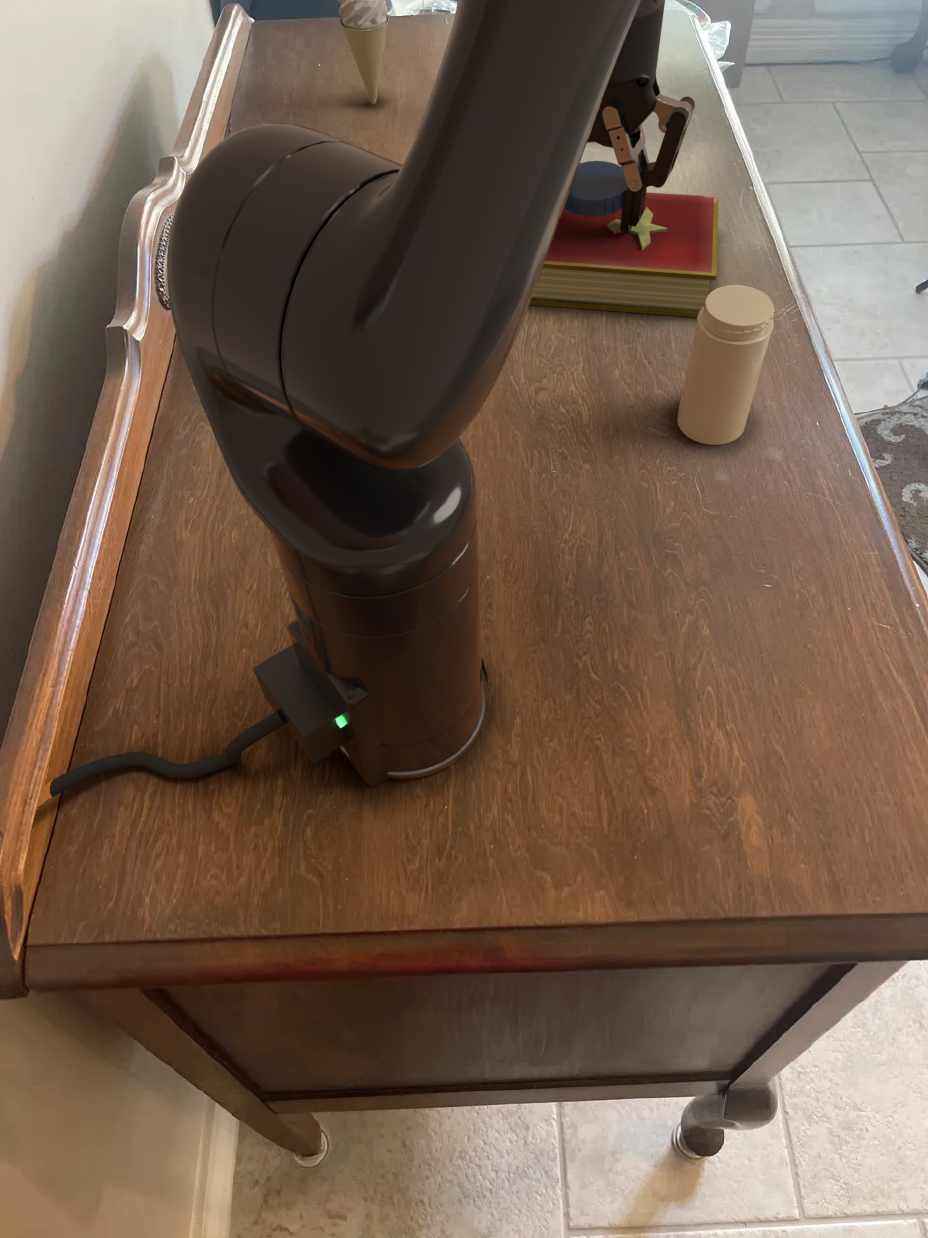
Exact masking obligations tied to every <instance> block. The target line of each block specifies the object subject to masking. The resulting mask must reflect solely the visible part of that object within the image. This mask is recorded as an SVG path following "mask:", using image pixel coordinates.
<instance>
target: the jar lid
mask: <svg viewBox="0 0 928 1238" xmlns="http://www.w3.org/2000/svg"><path fill="white" fill-rule="evenodd" d="M626 186H627V183H626V180H625V176H624V173H623V169H622V166H621V165H619V164H618V163H613V162H610V161H606V160H605V161H604V160H590V161H589V160H588V161H583V162H580V164H579V166H578V169H577V172H576V175H575V178H574V181H573V183H572V186H571V189H570V192H569V195H568V197H567V200H566V203H565V206H564V208H566V209H567V210H569V211H570V212H573V213H575V214H579V215H584V216H602V215H607V214H611V213H614V212H616V211H618V210H620V209H622V206H623V197H624V190H625V188H626Z"/></svg>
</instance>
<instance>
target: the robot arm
mask: <svg viewBox="0 0 928 1238" xmlns="http://www.w3.org/2000/svg"><path fill="white" fill-rule="evenodd" d="M665 4H666V0H457V2H456V8H455V13H454V19H453V22H452V25H451V28H450V33H449V35H448V40H447V44H446V47H445V50H444V53H443V57H442V60H441V62H440V63H441V64H440V67H439V70H438V72H437V76H436V79H435V82H434V84H433V88H432V90H431V93H430V96H429V100H428V103H427V105H426V107H425V110H424V113H423V116H422V118H421V122H420V124H419V127H418V130H417V132H416V135H415V137H414V140H413V142H412V144H411V146H410V149H409V151H408V153H407V155H406V157H405V159H404V161H403V163H399V162H397V161H394V160H392V159H389V158H387V157H384V156H382V155H379V154H377V153H374V152H372V151H370V150H367V149H365V148H363V147H360V146H356V145H354V144H352V143H349V142H347V141H345V140H342V139H339V138H337V137H334V136H333V135H330V134H327V133H324V132H322V131H320V130H316V129H313V128H310V127H307V126H302V125H298V124H294V123H286V122H267V123H262V124H257V125H252V126H249V127H245V128H242V129H240V130H238V131H236V132H235V133H232V134H230V135H228V136H227V137H225V138H224V139H223V140H221V141H220V142H218V143H217V144H216V145H215V146H214V147H212V148H211V149H210V150H209V152H208V153H207V154H206V155H205V156H204V157H203V158H202V159H201V161H200V162H199V163H198V164H197V165H196V167H195V169H194V170H193V171H192V173H191V174H190V176H189V178H188V179H187V181H186V183H185V184H184V187H183V189H182V191H181V194H180V196H179V198H178V200H177V204H176V206H175V209H174V213H173V217H172V221H171V225H170V231H169V238H168V244H167V255H166V281H167V289H168V290H167V291H168V292H167V293H168V301H169V302H168V303H169V308H170V313H171V317H172V322H173V326H174V330H175V334H176V338H177V341H178V344H179V348H180V350H181V353H182V356H183V359H184V362H185V366H186V368H187V370H188V373H189V376H190V379H191V381H192V383H193V386H194V388H195V391H196V393H197V396H198V399H199V401H200V404H201V406H202V408H203V411H204V413H205V414H204V415H205V416H206V419H207V421H208V423H209V427H210V429H211V431H212V434H213V436H214V438H215V441H216V443H217V446H218V449H219V451H220V453H221V456H222V458H223V461H224V463H225V465H226V468H227V470H228V472H229V475H230V477H231V479H232V482H233V483H234V485H235V487H236V489H237V491H238V492H239V494H240V495H241V497H242V498H243V500H244V501H245V503H246V504H247V505H248V507H249V508H250V509H251V511H252V512H253V513H254V514H255V516H257V518H258V519H259V520H260V521H261V522H262V523H263V525H264V526H265V527H266V529H267V530H268V531H269V534H270V536H271V539H272V542H273V545H274V549H275V553H276V555H277V558H278V561H279V565H280V568H281V571H282V575H283V578H284V581H285V583H286V588H287V590H288V594H289V597H290V601H291V603H292V606H293V610H294V613H295V616H296V618H295V619H294V620H292V621H290V622H289V623H288V624H287V632H288V634H289V637H290V641H291V643H292V644H291V645H289V646H287V647H286V648H284V649H282V650H280V651H279V652H277V653H275V654H274V655H272V656H270V657H269V658H267V659H266V660H263V661H262V662H260V663H259V664H257V665H255V666H254V667H252V669H253V672H254V674H255V677H256V679H257V682H258V684H259V687H260V690H261V691H262V694H263V696H264V698H265V700H266V701H267V702H268V704H269V705H270V707H271V708H272V709H273V711H274V712H273V713H271V714H270V715H267V716H266V717H264V718H263V719H261V720H260V721H258V722H256V723H255V724H253V725H252V726H250V727H248V728H247V729H245V730H244V731H242V732H240V733H239V734H238V735H236V736H235V737H233V738H232V739H231V740H230V741H229V742H228V743H227V745H226V747H225V751H222V752H220V753H218V754H216V755H214V756H211V757H208V758H206V759H202V760H197V761H194V762H188V763H187V762H186V763H176V762H172V761H168V760H167V759H164V758H162V757H160V756H158V755H156V754H152V753H149V752H145V751H129V752H128V751H127V752H123V753H118V754H114V755H110V756H106V757H105V756H104V757H102V758H99V759H96V760H93V761H89V762H87V763H84V764H82V765H79V766H77V767H75V768H72V769H70V770H68V771H66V772H64V773H62V774H60V775H58V776H57V777H55V778H53V779H52V780H53V781H52V782H51V785H50V794H51V796H52V797H53V798H55V797H56V796H57V795H60V794H61V793H63V792H64V791H66V790H68V789H70V788H72V787H74V786H76V785H78V784H80V783H82V782H85V781H87V780H89V779H92V778H95V777H98V776H100V775H103V774H107V773H111V772H113V771H118V770H123V769H128V768H134V767H142V768H145V769H148V770H150V771H152V772H154V773H156V774H159V775H161V776H164V777H168V778H172V779H179V780H180V779H184V780H185V779H194V778H198V777H202V776H206V775H209V774H212V773H216V772H219V771H220V770H223V769H226V768H227V767H229V766H231V765H233V764H235V763H238V762H239V760H240V759H241V757H242V752H244V751H245V750H247V749H248V748H249V747H251V746H253V745H254V744H255V743H257V742H259V741H260V740H262V739H264V738H265V737H267V736H268V735H270V734H272V733H273V732H275V731H277V730H278V729H280V728H281V727H283V726H285V727H286V728H287V730H288V732H290V734H291V735H292V737H293V738H294V740H295V741H296V742H297V744H298V745H299V746H300V748H301V749H302V751H303V752H304V753H305V755H306V756H307V758H308V759H309V760H310V762H311V764H313V765H314V764H316V763H318V762H319V761H321V760H323V759H324V758H325V757H327V756H329V755H331V754H332V753H334V752H335V751H336V750H339V751H340V752H341V754H343V756H344V757H345V758H346V759H347V760H348V761H349V762H350V763H351V764H352V766H353V767H354V768H355V770H356V771H357V772H358V774H359V775H360V777H361V778H362V779H363V780H364V781H365V783H366V784H367V785H368V786H369V787H371V788H374V787H376V786H378V785H379V784H381V783H382V782H385V781H386V780H388V779H394V780H413V779H419V778H424V777H427V776H431V775H434V774H437V773H439V772H441V771H443V770H445V769H447V768H449V767H450V766H452V765H453V764H455V763H456V762H458V761H459V760H460V759H461V758H463V756H464V755H465V754H467V753H468V751H469V750H470V749H471V748H472V746H473V745H474V743H475V742H476V740H477V738H478V737H479V735H480V732H481V730H482V727H483V724H484V721H485V715H486V693H485V689H484V682H483V681H484V679H485V682H486V685H487V687H488V686H489V683H488V682H489V680H488V679H489V677H488V671H487V667H486V664H485V662H484V658H483V655H482V630H481V629H482V628H481V625H482V624H481V605H480V604H481V601H480V600H481V599H480V580H479V579H480V578H479V577H480V575H479V547H478V546H479V545H478V544H479V543H478V516H477V515H478V507H477V506H478V505H477V504H478V503H477V502H478V501H477V486H476V485H477V483H476V475H475V470H474V466H473V463H472V460H471V457H470V455H469V452H468V450H467V448H466V445H464V443H463V441H462V439H461V438H460V437H461V436H462V435H463V434H464V433H465V432H466V430H467V429H468V427H469V426H470V425H471V424H472V423H473V421H474V420H475V418H476V417H477V416H478V414H479V413H480V411H481V409H482V408H483V406H484V405H485V403H486V401H487V399H488V397H489V396H490V394H491V393H492V390H493V388H494V387H495V385H496V383H497V382H498V380H499V377H500V376H501V373H502V371H503V369H504V368H505V365H506V363H507V361H508V359H509V356H510V354H511V352H512V349H513V347H514V345H515V342H516V340H517V338H518V335H519V333H520V330H521V327H522V325H523V322H524V320H525V318H526V317H525V316H526V314H527V311H528V309H529V306H530V305H529V303H530V301H531V298H532V295H533V293H534V290H535V287H536V285H537V282H538V279H539V276H540V274H541V271H542V268H543V265H544V262H545V260H546V257H547V254H548V251H549V248H550V245H551V243H552V240H553V237H554V234H555V231H556V228H557V226H558V223H559V220H560V217H561V215H562V213H563V211H564V210H565V208H564V206H565V203H566V200H567V197H568V195H569V192H570V189H571V186H572V183H573V181H574V178H575V175H576V172H577V169H578V166H579V164H580V163H581V160H582V158H583V156H584V152H585V150H586V147H587V144H589V143H595V144H599V145H600V146H603V147H606V148H611V149H613V153H614V155H615V158H616V162H617V165H619V166H621V167H622V169H623V173H624V176H625V180H626V183H627V186H626V188H625V190H624V197H623V206H622V216H621V225H620V231H623V232H628V233H629V231H630V230H631V228H632V226H634V227H636V225H637V224H638V222H639V220H640V218H641V217H642V215H643V213H644V207H645V199H646V192H647V191H648V188H649V187H654V188H656V189H660V188H662V187H663V186H665V184H666V182H667V181H668V178H669V177H670V175H671V173H672V171H673V169H674V167H675V165H676V162H677V159H678V156H679V153H680V150H681V147H682V144H683V141H684V138H685V136H686V133H687V130H688V127H689V124H690V122H691V118H692V116H693V113H694V110H695V107H696V104H695V103H696V102H695V100H694V99H693V98H692V97H691V96H687V95H686V96H683V97H682V98H680V100H677V99H675V98H673V97H670V96H668V95H664V94H662V93H661V89H660V87H659V84H658V80H657V69H658V62H659V61H658V60H659V53H660V47H661V46H660V45H661V36H662V30H663V29H662V27H663V21H664V12H665ZM653 113H655V114H656V115H657V118H658V125H657V126H658V129H659V131H660V132H661V133H664V135H663V138H662V140H661V144H660V147H659V150H658V154H657V157H656V159H655V161H651V162H650V160H649V157H648V153H647V149H646V136H645V132H644V128H643V125H642V124H643V123H644V122H645V121H646V120H647V119H648V117H650V116H651V114H653ZM483 677H484V678H483Z"/></svg>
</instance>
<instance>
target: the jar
mask: <svg viewBox="0 0 928 1238" xmlns="http://www.w3.org/2000/svg"><path fill="white" fill-rule="evenodd" d="M775 312H776V311H775V305H774V303H773V301H772V299H771V298H770V297H769V295H767V294H766V293H765V292H763V291H762V290H759V289H758V288H755V287H752V286H748V285H743V284H742V285H741V284H729V285H723V286H720V287H717V288H714V290H712V291H710V292H709V295H708V296H707V298H706V301H705V305H704V307H702V309H701V310H700V311H699V313H698V317H696V322H695V327H694V332H693V337H692V342H691V347H690V351H689V352H690V353H689V357H688V362H687V367H686V372H685V376H684V381H683V386H682V392H681V396H680V401H679V406H678V411H677V414H676V415H677V416H676V421H677V426H678V427H679V430H680V431H681V432H682V433H683V434H684V435H685V436H686V437H687V438H689V439H690V440H692V441H695V442H697V443H699V444H702V445H708V446H709V445H710V446H721V445H726V444H730V443H732V442H734V441H736V440H738V438H740V437H741V436H742V435H743V433H744V432H745V429H746V426H747V421H748V418H749V416H750V413H751V408H752V404H753V400H754V398H755V394H756V390H757V386H758V383H759V379H760V376H761V373H762V369H763V365H764V362H765V359H766V356H767V352H768V348H769V345H770V341H771V338H772V334H773V330H774V319H773V318H774V316H775Z"/></svg>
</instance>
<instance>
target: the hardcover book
mask: <svg viewBox="0 0 928 1238" xmlns="http://www.w3.org/2000/svg"><path fill="white" fill-rule="evenodd" d="M719 200H720V197H719V196H715V195H714V196H713V195H697V194H696V195H695V194H680V193H679V194H678V193H662V192H647V191H646V199H645V207H644V213H643V215H642V217H641V218H640V220H639V222H638V224H637V225H636V227H634V226H632V228H631V230H630V231H629V233H628V232H623V231H620V225H621V216H622V209H620V210H618V211H616V212H614V213H611V214H607V215H602V216H584V215H579V214H575V213H573V212H570V211H569V210H567V209H566V208H565V210H564V211H563V213H562V215H561V217H560V220H559V223H558V226H557V228H556V231H555V234H554V237H553V240H552V243H551V245H550V248H549V251H548V254H547V257H546V260H545V262H544V265H543V268H542V271H541V274H540V276H539V279H538V282H537V285H536V287H535V290H534V293H533V295H532V298H531V301H530V303H529V306H530V305H531V306H545V307H557V308H571V309H583V310H584V309H585V310H598V311H609V312H623V313H636V314H648V315H661V316H662V315H663V316H674V317H675V316H677V317H688V318H689V317H690V318H697V317H698V313H699V311H700V310H701V309H702V307H704V305H705V301H706V298H707V296H708V295H709V294H710V283H711V281H716V280H717V277H718V276H717V275H718V242H719V241H718V239H719V236H718V235H719V205H720V204H719V202H720V201H719Z"/></svg>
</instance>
